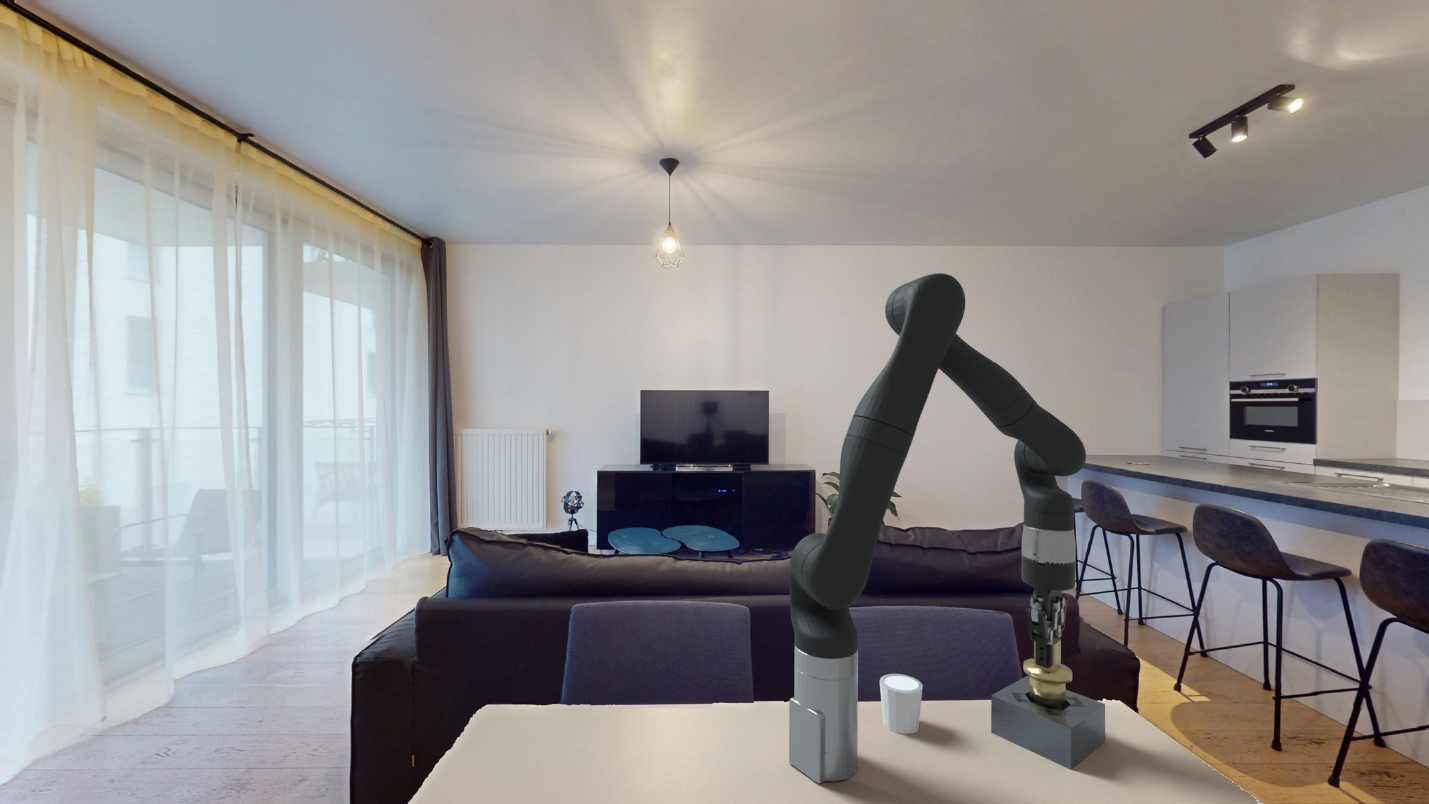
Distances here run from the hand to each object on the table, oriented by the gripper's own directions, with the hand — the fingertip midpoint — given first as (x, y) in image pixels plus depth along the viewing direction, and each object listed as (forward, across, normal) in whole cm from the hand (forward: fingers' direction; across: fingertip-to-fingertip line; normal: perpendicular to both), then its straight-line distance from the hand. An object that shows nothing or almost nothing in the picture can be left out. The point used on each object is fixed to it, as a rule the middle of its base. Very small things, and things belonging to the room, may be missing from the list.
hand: (1047, 662), depth 94 cm
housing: (+12, 0, 0) cm, 12 cm away
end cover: (+6, 0, 0) cm, 6 cm away
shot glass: (+12, +13, -18) cm, 26 cm away
